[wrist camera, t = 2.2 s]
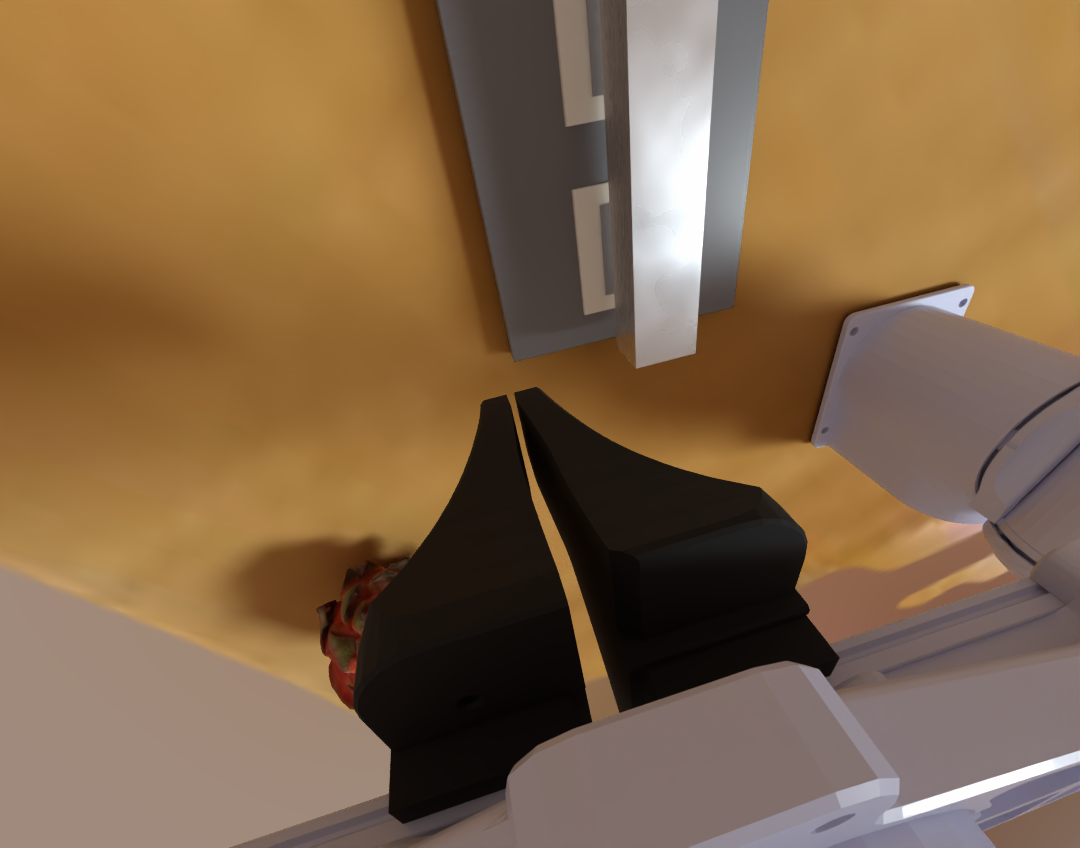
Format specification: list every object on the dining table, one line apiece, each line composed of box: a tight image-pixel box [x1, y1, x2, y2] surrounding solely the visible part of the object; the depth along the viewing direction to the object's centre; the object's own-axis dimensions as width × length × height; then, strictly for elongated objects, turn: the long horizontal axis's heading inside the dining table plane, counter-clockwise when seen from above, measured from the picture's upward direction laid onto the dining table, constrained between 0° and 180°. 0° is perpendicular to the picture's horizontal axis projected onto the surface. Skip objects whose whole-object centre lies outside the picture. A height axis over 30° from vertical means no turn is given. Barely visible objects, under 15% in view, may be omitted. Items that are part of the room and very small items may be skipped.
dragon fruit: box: [317, 558, 411, 709], centre depth 26 cm, size 8×8×12 cm
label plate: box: [435, 0, 769, 362], centre depth 15 cm, size 19×11×3 cm, turn 9°
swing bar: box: [598, 0, 718, 369], centre depth 12 cm, size 18×3×2 cm, turn 9°
